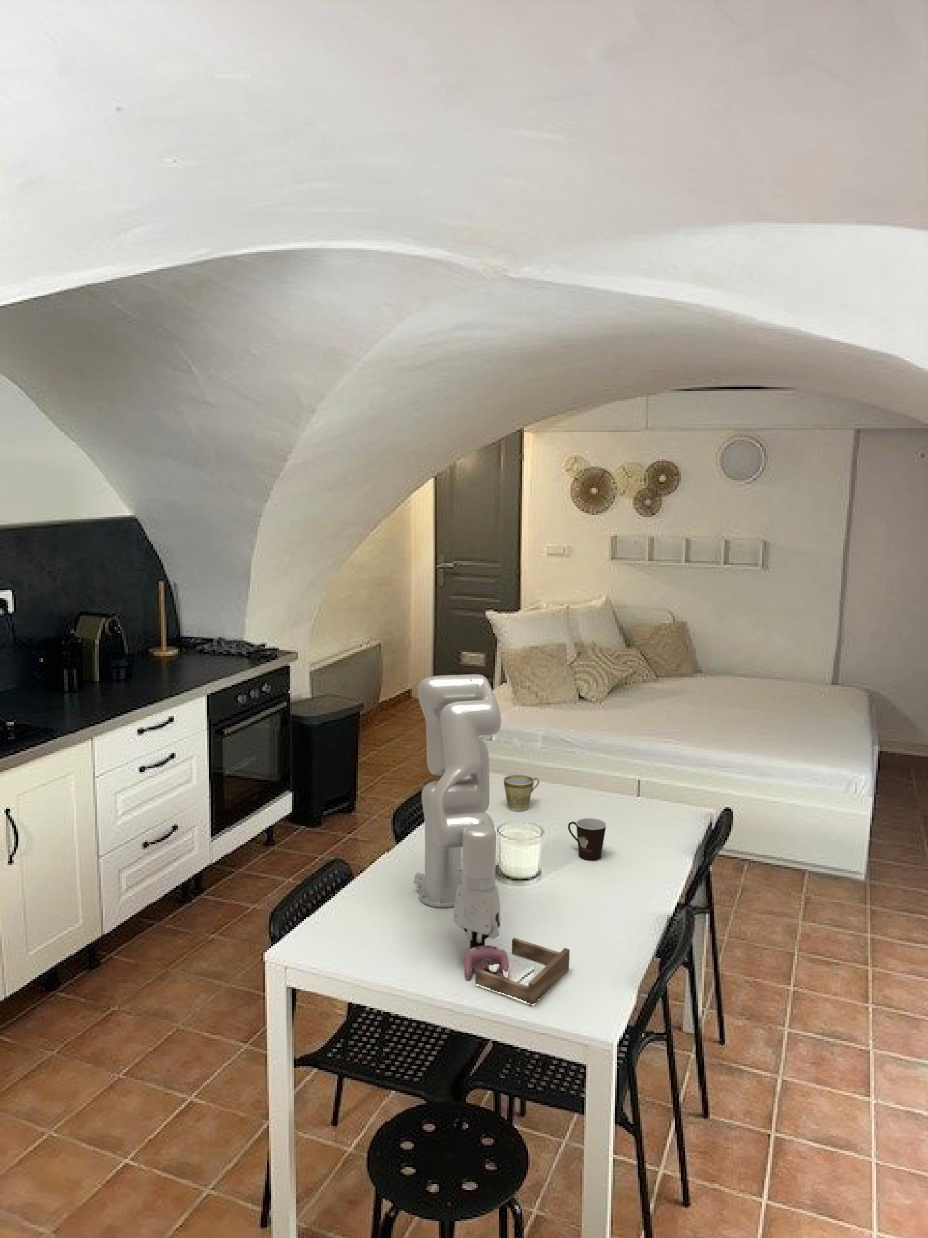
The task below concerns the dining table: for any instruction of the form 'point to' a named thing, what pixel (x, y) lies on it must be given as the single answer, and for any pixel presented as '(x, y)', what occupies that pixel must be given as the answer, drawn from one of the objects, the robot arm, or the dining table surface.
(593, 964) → the dining table surface
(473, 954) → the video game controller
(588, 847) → the coffee mug
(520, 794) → the ceramic cup
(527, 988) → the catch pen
